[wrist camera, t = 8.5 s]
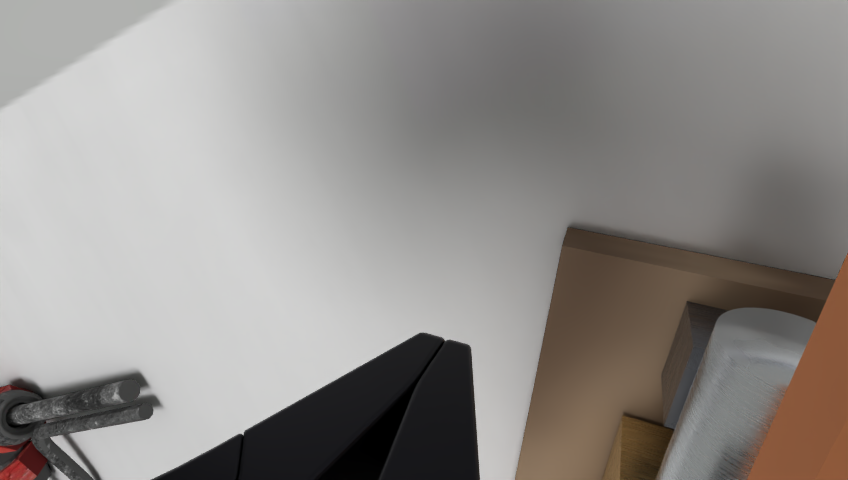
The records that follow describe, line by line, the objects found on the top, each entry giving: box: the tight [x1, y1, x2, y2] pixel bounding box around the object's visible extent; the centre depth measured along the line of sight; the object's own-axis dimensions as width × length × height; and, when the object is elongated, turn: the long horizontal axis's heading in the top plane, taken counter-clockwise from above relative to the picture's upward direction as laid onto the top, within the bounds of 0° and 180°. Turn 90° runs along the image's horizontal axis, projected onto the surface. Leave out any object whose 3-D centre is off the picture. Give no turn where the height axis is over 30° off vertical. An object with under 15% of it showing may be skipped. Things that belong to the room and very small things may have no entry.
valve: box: [0, 379, 153, 480], centre depth 37 cm, size 6×26×15 cm
